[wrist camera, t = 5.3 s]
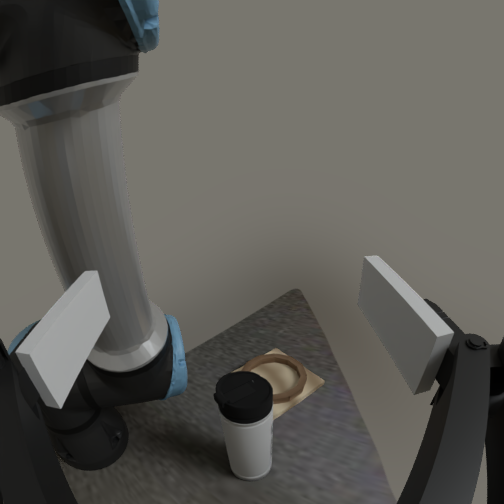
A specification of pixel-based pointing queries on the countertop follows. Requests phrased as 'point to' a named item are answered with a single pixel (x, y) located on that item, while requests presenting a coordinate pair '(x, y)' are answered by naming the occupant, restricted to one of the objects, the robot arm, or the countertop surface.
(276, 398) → the mug stand
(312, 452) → the countertop surface
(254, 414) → the travel mug
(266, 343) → the countertop surface
